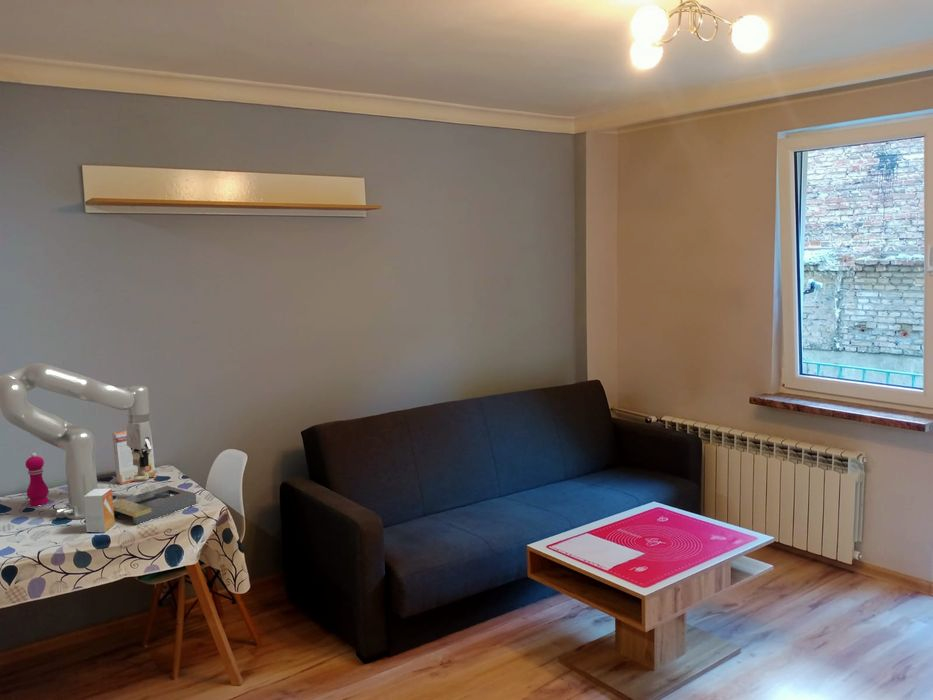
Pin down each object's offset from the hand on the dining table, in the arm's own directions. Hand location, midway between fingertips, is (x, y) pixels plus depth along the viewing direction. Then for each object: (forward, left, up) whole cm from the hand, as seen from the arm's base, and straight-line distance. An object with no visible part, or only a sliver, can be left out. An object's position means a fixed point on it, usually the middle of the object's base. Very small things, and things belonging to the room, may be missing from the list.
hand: (140, 465), depth 282 cm
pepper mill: (-25, +29, -13) cm, 41 cm away
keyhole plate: (-6, -16, -13) cm, 22 cm away
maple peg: (0, 0, -6) cm, 6 cm away
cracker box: (+12, +25, -13) cm, 31 cm away
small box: (-26, -17, -13) cm, 34 cm away
